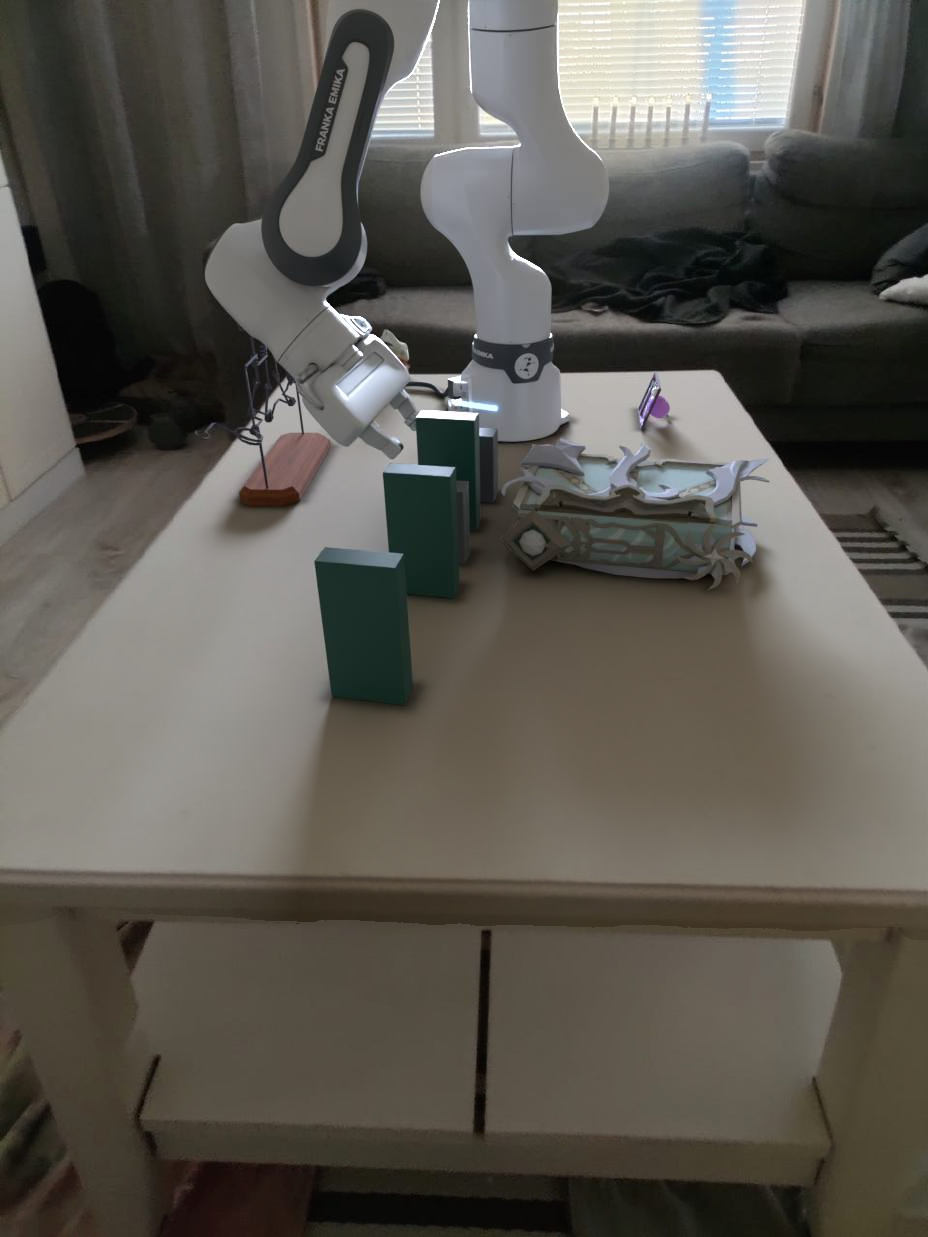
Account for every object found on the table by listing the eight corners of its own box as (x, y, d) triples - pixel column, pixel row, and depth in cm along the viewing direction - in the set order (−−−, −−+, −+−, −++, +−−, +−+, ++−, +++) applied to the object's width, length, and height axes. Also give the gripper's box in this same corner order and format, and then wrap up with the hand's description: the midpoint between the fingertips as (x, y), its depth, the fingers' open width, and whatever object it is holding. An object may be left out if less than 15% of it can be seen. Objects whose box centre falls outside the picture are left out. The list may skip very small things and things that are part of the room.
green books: (398, 581, 98) (389, 462, 91) (459, 586, 97) (456, 466, 89) (331, 696, 80) (313, 560, 73) (405, 705, 79) (395, 568, 72)
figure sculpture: (283, 434, 139) (259, 265, 126) (337, 434, 138) (319, 265, 125) (211, 535, 109) (170, 328, 96) (279, 536, 108) (248, 328, 95)
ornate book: (492, 582, 99) (772, 601, 92) (488, 503, 94) (784, 517, 87) (527, 500, 118) (763, 510, 111) (526, 430, 113) (773, 436, 106)
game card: (650, 369, 141) (654, 386, 133) (681, 380, 141) (686, 398, 134) (633, 407, 144) (636, 427, 137) (663, 418, 145) (667, 438, 137)
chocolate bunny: (416, 387, 158) (413, 329, 152) (373, 392, 156) (368, 334, 150) (408, 378, 162) (404, 322, 157) (366, 383, 160) (361, 327, 155)
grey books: (439, 489, 119) (436, 425, 115) (497, 493, 118) (497, 428, 113) (397, 558, 103) (392, 486, 98) (464, 564, 101) (462, 491, 96)
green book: (426, 517, 112) (421, 409, 105) (480, 521, 111) (479, 412, 103) (421, 526, 110) (415, 417, 102) (476, 530, 108) (474, 420, 101)
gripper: (306, 360, 92) (402, 454, 95) (367, 313, 109) (447, 395, 112) (272, 400, 95) (366, 490, 99) (337, 349, 112) (415, 427, 115)
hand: (410, 439), depth 105 cm, fingers open, 8 cm apart
